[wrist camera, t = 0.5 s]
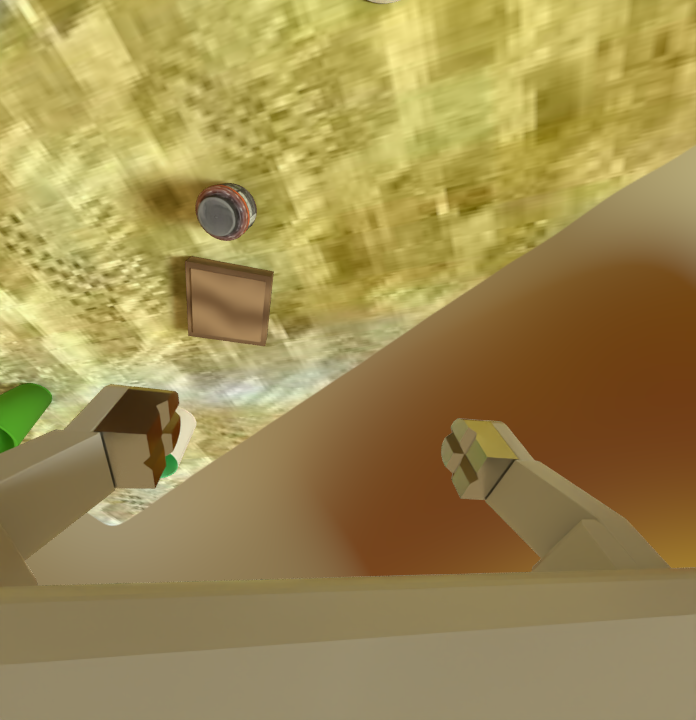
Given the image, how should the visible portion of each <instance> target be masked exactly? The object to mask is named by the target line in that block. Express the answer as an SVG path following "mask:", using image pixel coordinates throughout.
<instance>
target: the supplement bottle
mask: <svg viewBox="0 0 696 720" xmlns="http://www.w3.org/2000/svg"><path fill="white" fill-rule="evenodd" d="M256 213H257V208H256V204H255V201H254V199H253V197H252V195H251V194H250V193H249V192H248V191H247V190H246V189H245V188H243V187H242V186H240V185H237V184H232V183H227V184H220V185H213V186H210V187H208V188H206V189H204V190H203V191H202V192H201V193H200V195H199V196H198V198H197V201H196V215H197V219H198V221H199V223H200V225H201V226H202V228H203V229H204V230H205V231H206V232H207V233H208V234H210V235H211V236H213V237H214V238H216V239H219V240H224V241H230V240H234V239H237V238H239V237H240V236H241V235H242V234H244V233H245V231H247V229H248V228H249V227H250V226H252V224H253V223H254V221H255V218H256Z"/></svg>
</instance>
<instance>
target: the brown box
mask: <svg viewBox="0 0 696 720" xmlns="http://www.w3.org/2000/svg"><path fill="white" fill-rule="evenodd" d="M185 270H186V292H187V314H188V336H194V337H201V338H208V339H216V340H223V341H230V342H238V343H245V344H252V345H260V346H265V344H266V340H267V332H268V322H269V313H270V303H271V293H272V283H273V273H274V272H273V271H268V270H262V269H257V268H252V267H246V266H241V265H236V264H231V263H225V262H220V261H215V260H209V259H204V258H199V257H194V256H192V257H190V258H189V259H187V260H186V261H185Z"/></svg>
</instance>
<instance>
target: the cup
mask: <svg viewBox="0 0 696 720" xmlns="http://www.w3.org/2000/svg"><path fill="white" fill-rule="evenodd" d="M51 401H52V395H51V393H50V392H49V391H48V390H47V389H46V388H44V387H42V386H40V385H37V384H33V383H27V384H22V385H19V386H17V387H15V388H13V389H11V390H9V391H8V392H6V393H4V394H2V395H0V453H3V452H5V451H7V450H10V449H12V448H14V447H16V446H19V444H20V443H21V441H22V440H23V439H24V437H25V436H26V435H27V434H28V432H29V431H30V430H31V428H32V427H33V426H34V424H35V423H36V422H37V420H38V419H39V418H40V416H41V415H42V414H43V412H44V411H45V410H46V408H47V407H48V406H49V405H50V403H51Z"/></svg>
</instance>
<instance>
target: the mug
mask: <svg viewBox="0 0 696 720" xmlns="http://www.w3.org/2000/svg"><path fill="white" fill-rule="evenodd" d="M175 412H176V413H177V414H178V415H179V416H180V420H181V426H180V434H179V438H178V441H177V444H176V446H175V448H174V451H173V452H172V453H170V454H169V455H167V456H166V457H165V459H166V467H165V469H164V471H163V473H162V475H161V477H160V478H164V477H168V476H170V475H172V474H173V473H175V472H176V470H177V468H178V466H179V464H180V461H181V459H182V457H183V455H184V452H185V450H186V448H187V445H188V443H189V441H190V439H191V436H192V434H193V432H194V430H195V427H196V420H195V418H194V416H193V415H192V414H191V413H190V412H189V411H187V410H185V409H183V408H180V407H177V409H176V411H175Z"/></svg>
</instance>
